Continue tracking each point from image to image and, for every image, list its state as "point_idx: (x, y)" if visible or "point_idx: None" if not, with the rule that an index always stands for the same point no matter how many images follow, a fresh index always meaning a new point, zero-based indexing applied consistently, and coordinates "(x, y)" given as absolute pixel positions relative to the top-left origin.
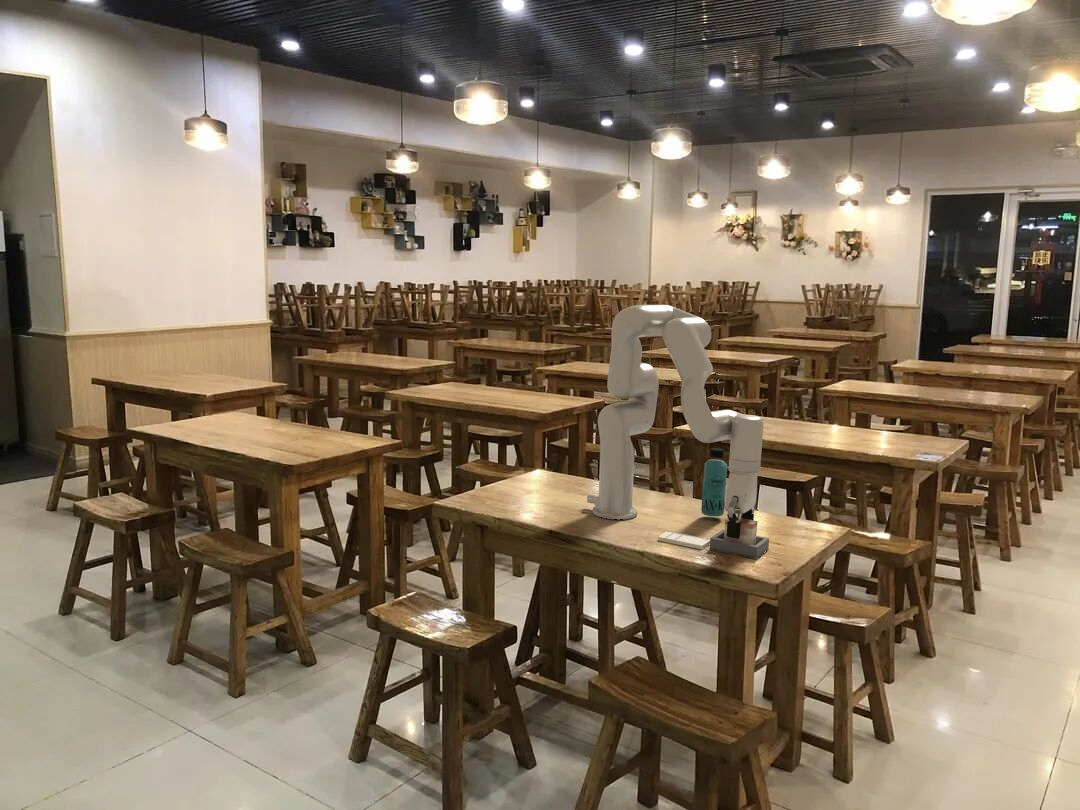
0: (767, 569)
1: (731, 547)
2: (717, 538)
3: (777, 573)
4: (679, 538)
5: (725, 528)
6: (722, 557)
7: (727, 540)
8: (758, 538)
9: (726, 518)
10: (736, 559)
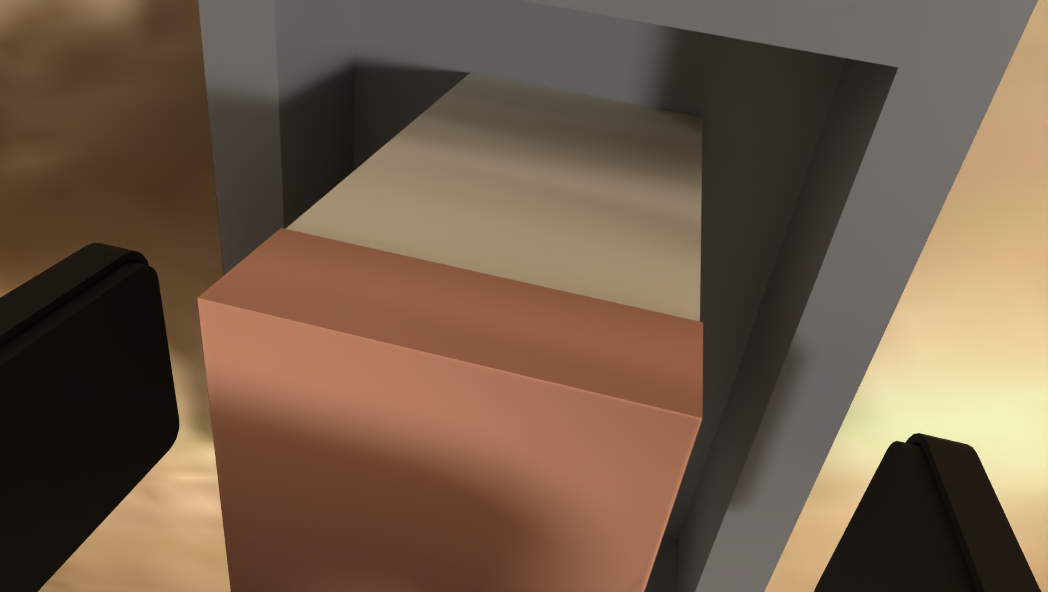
0: (135, 529)
1: None
2: (257, 5)
3: (109, 584)
4: None
5: (344, 199)
6: (132, 118)
7: (265, 203)
8: (696, 580)
9: (312, 326)
10: (184, 280)
